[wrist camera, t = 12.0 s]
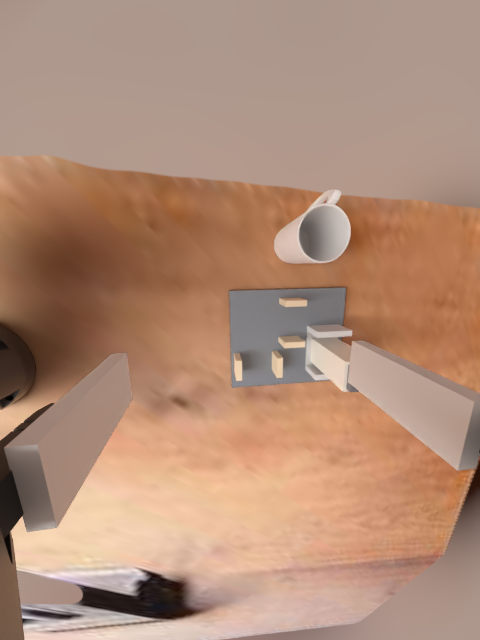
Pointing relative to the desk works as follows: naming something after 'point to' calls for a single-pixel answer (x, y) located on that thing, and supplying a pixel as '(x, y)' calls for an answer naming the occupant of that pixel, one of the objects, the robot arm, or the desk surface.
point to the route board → (282, 333)
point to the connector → (333, 360)
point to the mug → (315, 233)
